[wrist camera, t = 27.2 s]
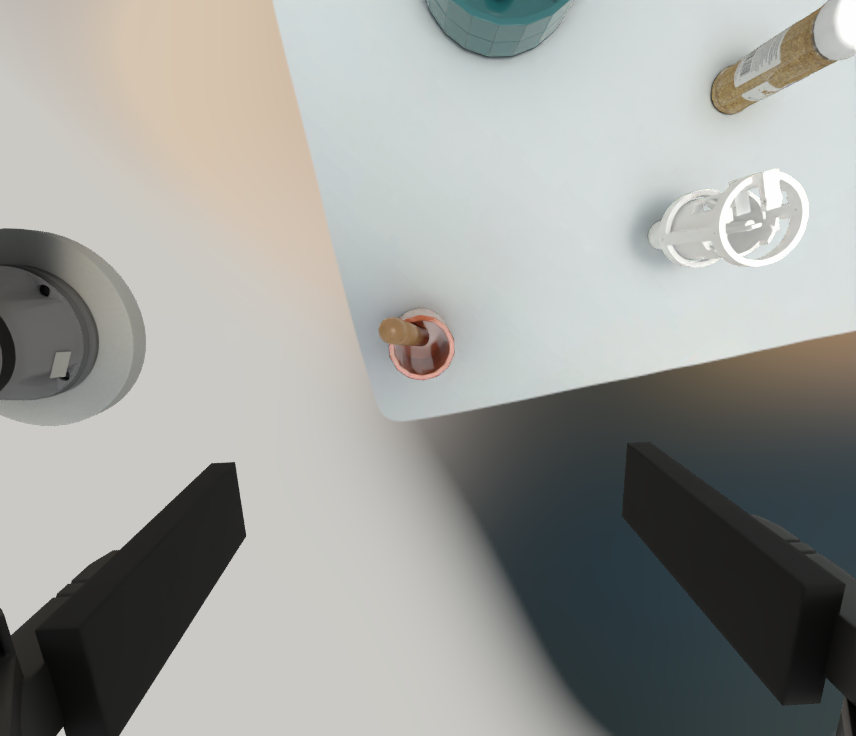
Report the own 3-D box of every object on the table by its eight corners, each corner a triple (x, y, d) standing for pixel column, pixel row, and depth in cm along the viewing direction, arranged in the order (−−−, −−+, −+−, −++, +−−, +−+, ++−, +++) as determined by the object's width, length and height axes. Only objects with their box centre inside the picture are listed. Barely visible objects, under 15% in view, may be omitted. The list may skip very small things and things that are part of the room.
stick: (414, 347, 48) (378, 346, 30) (411, 330, 48) (373, 318, 30) (431, 345, 47) (405, 341, 29) (428, 327, 47) (401, 313, 29)
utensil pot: (394, 364, 49) (391, 381, 41) (391, 308, 47) (387, 316, 39) (448, 361, 49) (455, 378, 41) (446, 306, 47) (453, 313, 40)
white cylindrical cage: (688, 192, 45) (819, 155, 31) (697, 257, 47) (825, 251, 32) (625, 211, 46) (724, 183, 31) (636, 275, 47) (735, 277, 33)
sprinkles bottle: (729, 125, 44) (862, 63, 31) (700, 93, 43) (824, 16, 30) (762, 87, 43) (913, 7, 30) (733, 54, 43) (875, -42, 29)
